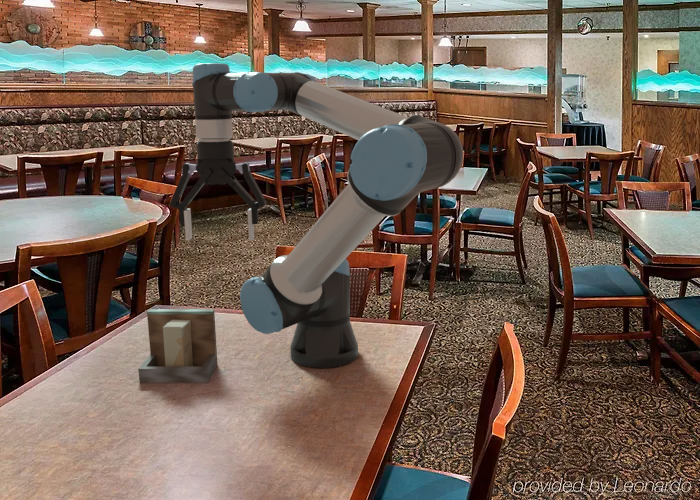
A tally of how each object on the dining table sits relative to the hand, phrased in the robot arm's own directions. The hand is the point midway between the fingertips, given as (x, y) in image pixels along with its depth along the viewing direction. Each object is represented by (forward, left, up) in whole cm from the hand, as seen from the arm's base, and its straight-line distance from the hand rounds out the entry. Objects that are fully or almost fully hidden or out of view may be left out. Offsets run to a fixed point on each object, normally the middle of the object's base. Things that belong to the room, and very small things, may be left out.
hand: (220, 239), depth 147 cm
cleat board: (+8, +10, -27) cm, 30 cm away
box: (+8, +10, -27) cm, 30 cm away
